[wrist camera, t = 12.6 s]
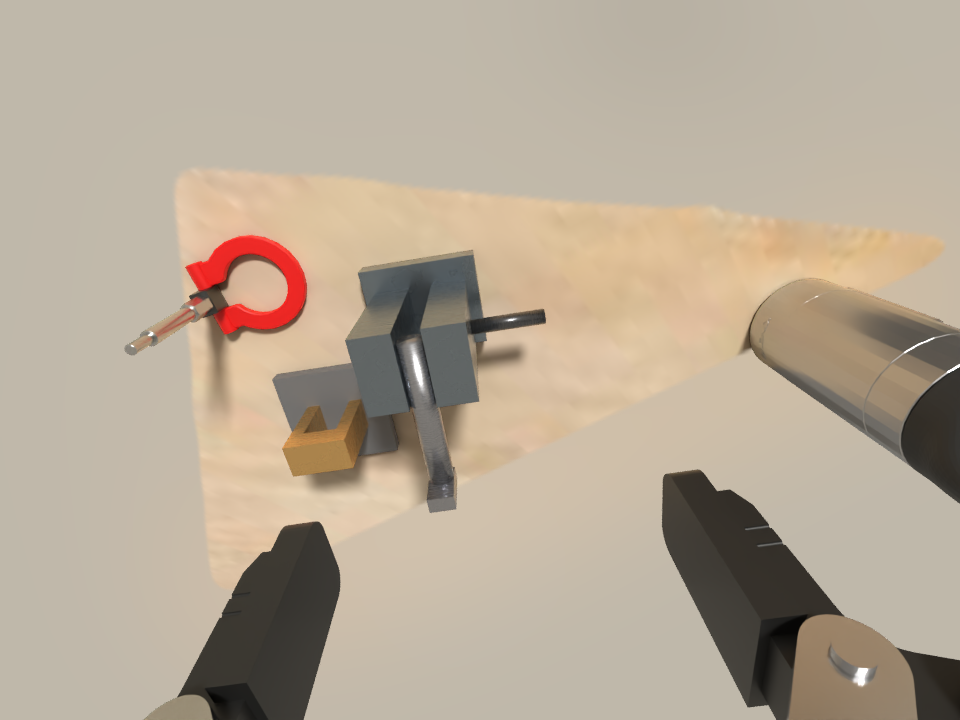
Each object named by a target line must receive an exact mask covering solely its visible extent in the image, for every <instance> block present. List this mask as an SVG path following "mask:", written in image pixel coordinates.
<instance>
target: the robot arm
mask: <svg viewBox="0 0 960 720" xmlns="http://www.w3.org/2000/svg"><path fill="white" fill-rule="evenodd" d="M750 343H751V346H752V350H753V351H754V353H755V355H756V356H757V357H758V358H759V359H760V360H761V361H762V362H763V363H765V364H767V365H768V366H769V367H771V368H772V369H773V370H775V371H776V372H778V373H779V374H780V375H782V376H783V377H785V378H786V379H787V380H789V381H790V382H791V383H793V384H794V385H796V386H797V387H798V388H800V389H801V390H803V391H804V392H806V393H807V394H808V395H810V396H811V397H813V398H814V399H816V400H817V401H819V402H820V403H821V404H823V405H824V406H825V407H827V408H828V409H830V410H831V411H833V412H834V413H836V414H837V415H838V416H840V417H841V418H842V419H844V420H846V421H847V422H848V423H850V424H851V425H852V426H854V427H855V428H857V429H858V430H860V431H861V432H862V433H864V434H865V435H867V436H868V437H869V438H871V439H872V440H874V441H875V442H877V443H878V444H879V445H881V446H883V447H884V448H885V449H887V450H888V451H890V452H891V453H892V454H894V455H895V456H897V457H898V458H900V459H901V460H902V461H904V462H905V463H907V464H908V465H909V466H911V467H912V468H913V469H915V470H916V471H917V472H919V473H920V474H922V475H923V476H925V477H926V478H927V479H929V480H930V481H932V482H933V483H934V484H935V485H937V486H938V487H939V488H940V489H942V490H943V491H944V492H945V493H946V494H948V495H949V496H950V497H952V498H953V499H954V500H956V501H957V502H958V503H960V329H958V328H955V327H952V326H950V325H947V324H944V323H943V321H941V320H940V319H937V318H934V317H931V316H928V315H926V314H923V313H920V312H917V311H914V310H912V309H909V308H906V307H903V306H900V305H897V304H895V303H892V302H889V301H886V300H883V299H881V298H878V297H875V296H872V295H869V294H866V293H864V292H861V291H858V290H855V289H852V288H845V287H842V286H839V285H836V284H833V283H830V282H827V281H824V280H821V279H804V280H799V281H796V282H793V283H790V284H788V285H786V286H784V287H782V288H780V289H779V290H777V291H776V292H775V293H773V294H772V295H771V296H770V297H769V298H768V299H767V300H766V301H765V302H764V303H763V304H762V305H761V307H760V308H759V310H758V311H757V313H756V315H755V317H754V319H753V322H752V325H751V330H750ZM662 509H663V510H662V528H663V534H664V538H665V542H666V545H667V548H668V551H669V553H670V555H671V557H672V559H673V561H674V563H675V565H676V567H677V569H678V570H679V573H680V575H681V577H682V579H683V581H684V583H685V584H686V587H687V589H688V591H689V592H690V595H691V596H692V598H693V600H694V602H695V604H696V606H697V608H698V610H699V612H700V614H701V616H702V618H703V620H704V622H705V624H706V626H707V628H708V630H709V632H710V634H711V636H712V638H713V640H714V642H715V644H716V646H717V648H718V650H719V652H720V654H721V655H722V658H723V659H724V661H725V663H726V665H727V667H728V669H729V671H730V673H731V675H732V677H733V679H734V681H735V683H736V685H737V687H738V689H739V691H740V693H741V695H742V697H743V699H744V701H745V703H746V705H747V707H755V706H764V705H769V707H770V709H771V711H772V712H773V714H774V716H775V718H776V720H960V660H955V659H948V658H943V657H937V656H932V655H926V654H920V653H914V652H910V651H906V650H902V649H899V648H896V647H895V646H894V645H893V644H892V643H891V642H890V641H888V640H887V639H886V638H885V637H883V636H882V635H881V634H880V633H878V632H876V631H875V630H873V629H872V628H870V627H868V626H866V625H864V624H862V623H860V622H858V621H855V620H853V619H850V618H847V617H844V615H843V614H842V613H841V612H840V611H839V610H838V609H837V608H836V606H835V605H834V604H833V603H832V602H831V600H830V599H829V598H828V597H827V595H826V594H825V593H824V592H823V591H822V589H821V588H820V587H819V585H818V584H817V583H816V582H815V581H814V579H813V578H812V577H811V576H810V574H809V573H808V572H807V571H806V569H805V568H804V567H803V566H802V565H801V563H800V562H799V561H798V560H797V558H796V557H795V556H794V555H793V554H792V552H791V551H790V550H789V549H788V547H787V546H786V545H783V543H782V540H781V539H780V538H779V536H778V535H777V534H776V533H775V532H774V530H773V529H772V528H769V524H768V523H767V522H766V520H765V519H764V518H763V517H762V515H761V514H760V513H759V512H758V510H757V509H756V508H755V507H754V506H753V505H752V504H751V503H749V502H748V501H746V500H745V499H743V498H742V497H740V496H739V495H737V494H736V493H734V492H733V491H731V490H723V491H716V489H715V488H714V486H713V485H712V484H711V483H710V481H709V480H708V478H707V477H706V476H705V474H704V473H703V472H702V471H700V470H692V471H684V472H677V473H670V474H665V475H664V477H663V504H662ZM339 592H340V572H339V567H338V565H337V562H336V560H335V557H334V554H333V552H332V549H331V546H330V544H329V541H328V539H327V536H326V534H325V531H324V528H323V526H322V525H321V523H320V522H309V523H302V524H295V525H288V526H285V527H284V528H283V529H282V530H281V532H280V534H279V536H278V538H277V540H276V542H275V544H274V546H273V548H272V550H271V551H269V552H262V553H261V554H260V555H259V556H258V558H257V559H256V560H255V561H254V562H253V563H252V564H251V565H250V566H249V567H248V568H247V569H246V570H245V571H244V573H243V574H242V576H241V578H240V580H239V582H238V584H237V586H236V588H235V590H234V591H233V593H232V599H229V601H228V603H227V605H226V607H225V609H224V611H223V612H222V618H219V620H218V622H217V624H216V626H215V627H214V629H213V631H212V633H211V635H210V637H209V639H208V641H207V643H206V645H205V647H204V648H203V650H202V652H201V654H200V656H199V658H198V660H197V662H196V664H195V666H194V667H193V669H192V671H191V673H190V675H189V677H188V679H187V681H186V682H185V685H184V686H183V688H182V690H181V692H180V693H179V695H178V697H177V698H175V699H172V700H170V701H168V702H166V703H165V704H163V705H161V706H160V707H158V708H157V709H156V710H154V711H153V712H152V713H150V714H149V715H148V716H147V717H146V718H145V719H144V720H304V716H305V712H306V709H307V705H308V702H309V699H310V695H311V691H312V688H313V684H314V681H315V677H316V674H317V670H318V667H319V663H320V660H321V656H322V653H323V649H324V646H325V642H326V639H327V635H328V632H329V628H330V625H331V621H332V617H333V614H334V611H335V607H336V604H337V600H338V597H339Z"/></svg>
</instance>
